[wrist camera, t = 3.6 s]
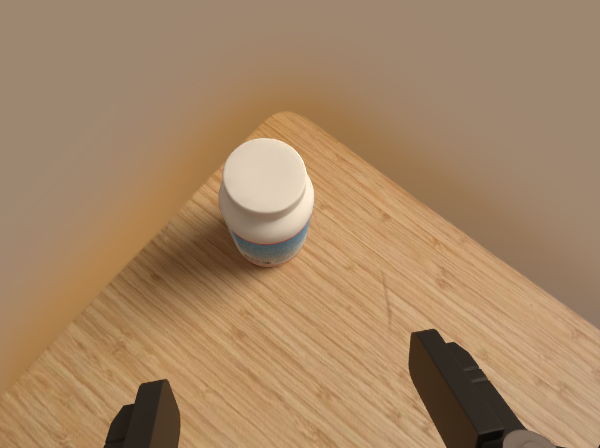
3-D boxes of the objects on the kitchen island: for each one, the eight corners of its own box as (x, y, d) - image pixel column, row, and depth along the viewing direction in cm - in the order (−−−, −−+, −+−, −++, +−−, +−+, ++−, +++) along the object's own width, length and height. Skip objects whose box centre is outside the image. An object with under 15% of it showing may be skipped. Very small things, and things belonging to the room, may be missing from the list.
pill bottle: (320, 232, 31) (343, 174, 20) (269, 283, 29) (264, 250, 19) (270, 185, 32) (266, 106, 21) (218, 232, 30) (185, 173, 20)
